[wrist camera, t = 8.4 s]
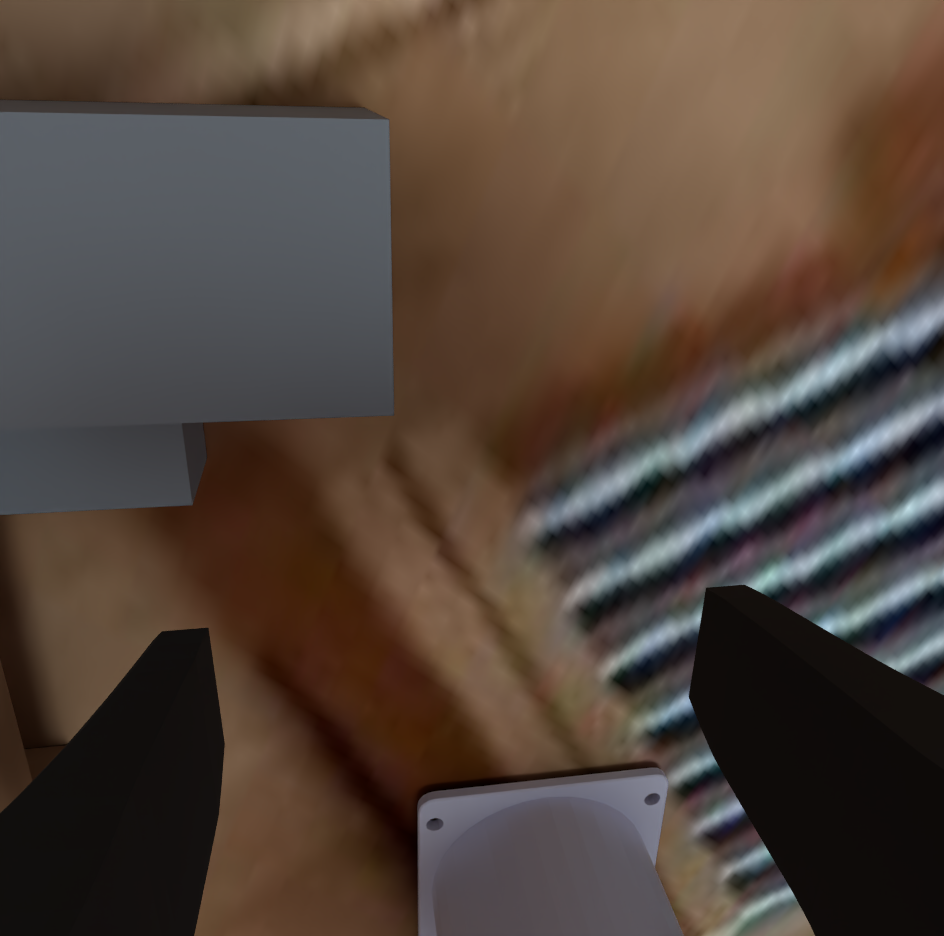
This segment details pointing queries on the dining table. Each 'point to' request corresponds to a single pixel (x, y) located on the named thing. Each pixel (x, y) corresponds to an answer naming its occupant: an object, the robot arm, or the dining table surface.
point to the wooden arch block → (17, 752)
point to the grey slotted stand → (182, 288)
